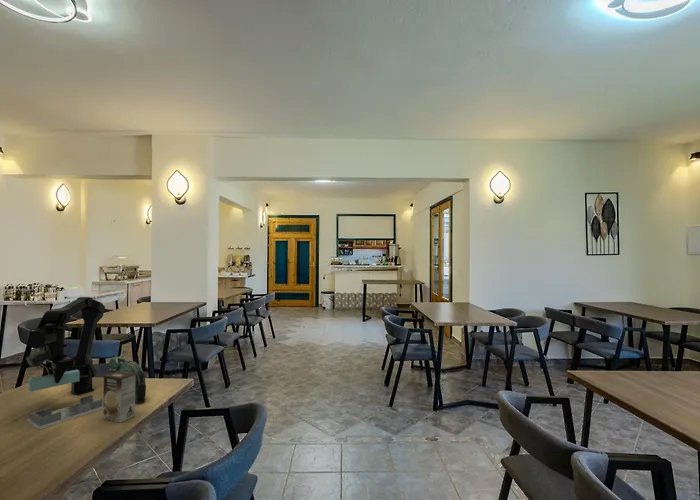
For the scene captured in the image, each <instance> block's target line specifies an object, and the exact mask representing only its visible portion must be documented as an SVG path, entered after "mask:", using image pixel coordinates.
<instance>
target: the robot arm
mask: <svg viewBox="0 0 700 500" xmlns="http://www.w3.org/2000/svg"><path fill="white" fill-rule="evenodd" d="M105 311H106V306H105V305H104V303H102V302H101V301H98V300H96V299H93V297H90V296H79V297H77V298H76V299H75V300H73V301H71V302H69V303H67V304H66V305H64V306H62V307H59V308H52V309H49V310H46V311H45V312H44V313H43V315H42V317H41V319H40V321H39V323H38V325H37V327H36V329H34V331H33V333H32V334H30V336H29V337H28V339H27V344H28V345H29V347H30V348H32V349H35V350H36V349H41V348H42V349H41V350H39V351H37V352H35V353H32V354H30V355H27V356H26V357H25V360H26V362H27V363H28V365H29V366H31V367H35V366H37V365H38V366H39V364H40V366H41V367H44V368H45V369H46V371H47V375H52V374H54V380H55V383H59V382H60V380H61V378H62V376H63V374H64V373H65V372H67V371H72V370H79V371H80V375H79V381H78V382H73V383H70V385H71V386H70V389H71V390H70V393H72V394H74V395H77V396H78V395H83V394H86V393H89V392H92V391H94V390H95V388H93V378H95V377H96V375H97V369H96V368H95V366H94V365H93V362H94V360H93V358H92V356H91V352H92V347H93V345H94V344H93V342H94V338H95V335H96V329H97V325H98V323H99V321H100V320H101V319H102V318H103V316H104V313H105ZM79 312H81V315H80V316H81V318H82V320H83V325H82V329H81V334H80V338H79V343H78V346H77V351H76V355H74V356H73V357H70V356H67V355H68V354H67V353H65V351H66V349H65V348H68V344H67V343H66V329H68V328H69V326H68V325H67V323H69V321H71V319H72V318H71V317H72V316H74V315H75V314H77V313H79Z"/></svg>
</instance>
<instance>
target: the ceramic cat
mask: <svg viewBox="0 0 700 500" xmlns="http://www.w3.org/2000/svg"><path fill="white" fill-rule="evenodd" d="M124 353H125V354H126V355H127V356H128V352H127V350H124V351H123V352H122V354H124ZM119 370H120V371H125V372H130V373H136V383H135V405H141V404H143V403H145V401H146V391H147V385H146V378H145V377H146V376H145V372H144V371H143V368H142V367H141V365H140V364H139V363H137V362H136V361H135V360H128V359H127V357H126V356H124V355H120V356H116V354H114V353H113V354H112V357H111V358H110V360H109V361H108V371H109V372H110V373H113V372H116V371H119Z"/></svg>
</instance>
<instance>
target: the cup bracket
mask: <svg viewBox="0 0 700 500" xmlns="http://www.w3.org/2000/svg"><path fill="white" fill-rule="evenodd" d="M93 397H94V396H93V395H92V394H90V395H88V396H84V397H81V398H79V403H76V404H73V405H69V406H67V407H63V408H59V409H57V410H53V408H52V407H51V406H50V407H46V408H43V409H39V410H36V411H33V412H30V414H29V418H27V419H26V422H27V423H28V424H30V425H31V426H32V427H35V428H36V429H37V430H43V429H47V428H49V427H52V426H55V425H58V424H60V423H65V422H67V421H70V420H72V419H77V418H79V417H82V416H85V415H88V414H91V413H94V412H98V411H99V410H103V399H102V398H100V399H98V398H93Z"/></svg>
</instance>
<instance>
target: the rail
mask: <svg viewBox="0 0 700 500" xmlns="http://www.w3.org/2000/svg"><path fill="white" fill-rule="evenodd" d="M79 375H80V371H79V370H72V371H67V370H66V371H65V373H64V374H63V376H62V378H61V380H60V382H59V383H55V380H54V374H52V375H48V374H47V375H42V376H37V377H31V378H28V392H30V393H31V392H35V391H40V390H44V389H49V388H53V387H59V386H64V385H69V384H71V383H73V382H78V381H79Z"/></svg>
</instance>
